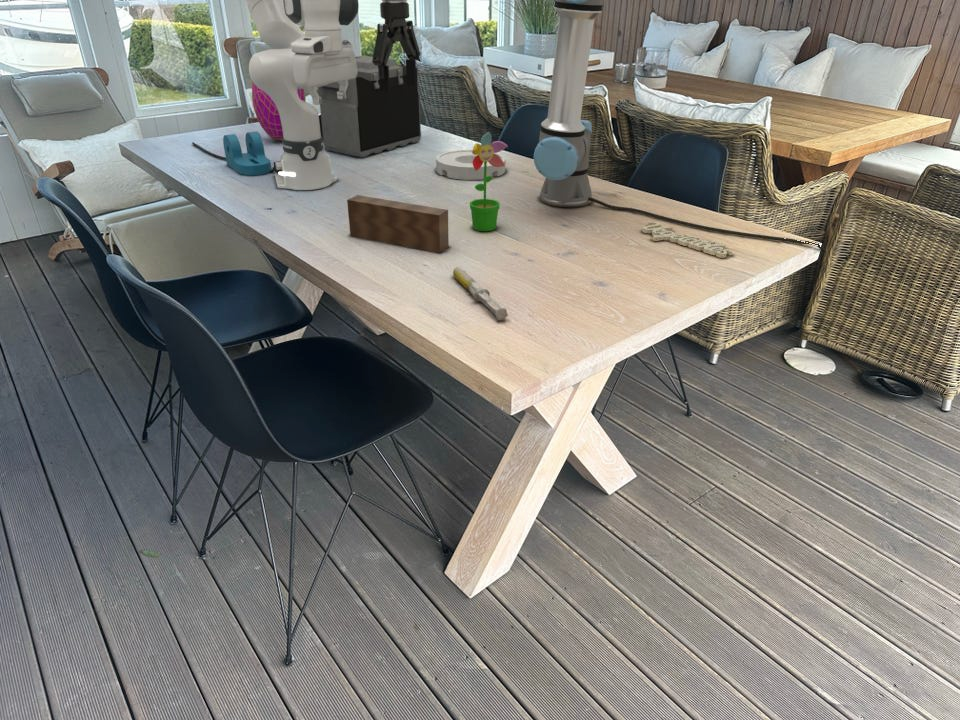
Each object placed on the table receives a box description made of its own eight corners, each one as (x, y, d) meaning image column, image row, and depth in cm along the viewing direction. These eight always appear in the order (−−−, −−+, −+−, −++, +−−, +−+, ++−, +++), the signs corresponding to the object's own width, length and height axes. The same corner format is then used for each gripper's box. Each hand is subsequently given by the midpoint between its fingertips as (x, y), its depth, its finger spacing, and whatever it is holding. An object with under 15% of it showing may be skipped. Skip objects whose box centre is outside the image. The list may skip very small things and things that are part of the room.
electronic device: (383, 133, 276) (378, 52, 261) (425, 141, 265) (422, 56, 250) (314, 150, 251) (304, 61, 235) (358, 160, 240) (350, 67, 224)
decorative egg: (293, 132, 276) (283, 50, 261) (319, 140, 264) (310, 56, 249) (249, 139, 265) (236, 54, 250) (273, 148, 253) (261, 60, 238)
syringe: (449, 274, 155) (449, 263, 153) (465, 272, 156) (464, 260, 154) (490, 323, 135) (491, 310, 133) (508, 319, 136) (508, 307, 134)
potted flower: (476, 234, 177) (477, 135, 164) (462, 225, 183) (462, 128, 170) (508, 229, 181) (511, 131, 168) (493, 220, 187) (496, 125, 174)
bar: (448, 247, 170) (448, 209, 165) (440, 253, 166) (439, 215, 161) (360, 230, 179) (357, 194, 174) (350, 236, 176) (346, 199, 171)
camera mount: (227, 164, 233) (221, 132, 227) (257, 160, 238) (252, 129, 233) (244, 176, 220) (239, 143, 215) (276, 172, 225) (271, 139, 220)
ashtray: (439, 160, 240) (438, 148, 238) (505, 161, 240) (505, 150, 238) (433, 179, 220) (432, 166, 218) (505, 180, 220) (505, 168, 218)
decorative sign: (628, 228, 179) (651, 220, 185) (628, 232, 180) (651, 224, 186) (717, 257, 162) (740, 248, 168) (716, 261, 163) (739, 251, 169)
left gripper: (341, 38, 178) (346, 94, 185) (285, 45, 163) (293, 106, 170) (360, 39, 176) (365, 96, 182) (305, 46, 160) (312, 108, 167)
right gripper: (407, -1, 190) (410, 80, 201) (354, 3, 171) (361, 93, 181) (430, -1, 187) (433, 82, 198) (379, 4, 168) (385, 96, 178)
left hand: (329, 101), depth 176 cm, fingers open, 8 cm apart
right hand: (398, 88), depth 189 cm, fingers open, 13 cm apart
